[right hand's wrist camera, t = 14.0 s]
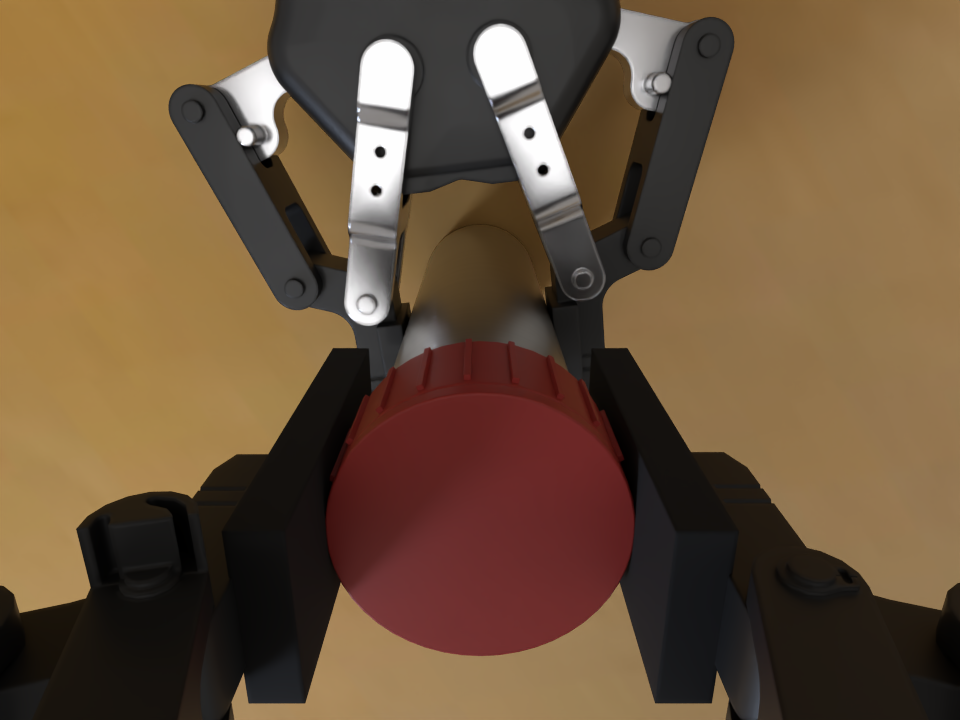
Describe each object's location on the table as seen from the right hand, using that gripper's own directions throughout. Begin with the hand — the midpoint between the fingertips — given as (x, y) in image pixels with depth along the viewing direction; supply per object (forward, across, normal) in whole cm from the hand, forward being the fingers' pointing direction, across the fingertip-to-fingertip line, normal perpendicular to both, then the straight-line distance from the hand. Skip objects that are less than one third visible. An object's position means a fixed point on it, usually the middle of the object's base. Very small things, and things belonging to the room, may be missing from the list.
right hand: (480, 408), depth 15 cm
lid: (-4, 0, 0) cm, 4 cm away
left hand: (+5, 0, -3) cm, 6 cm away
